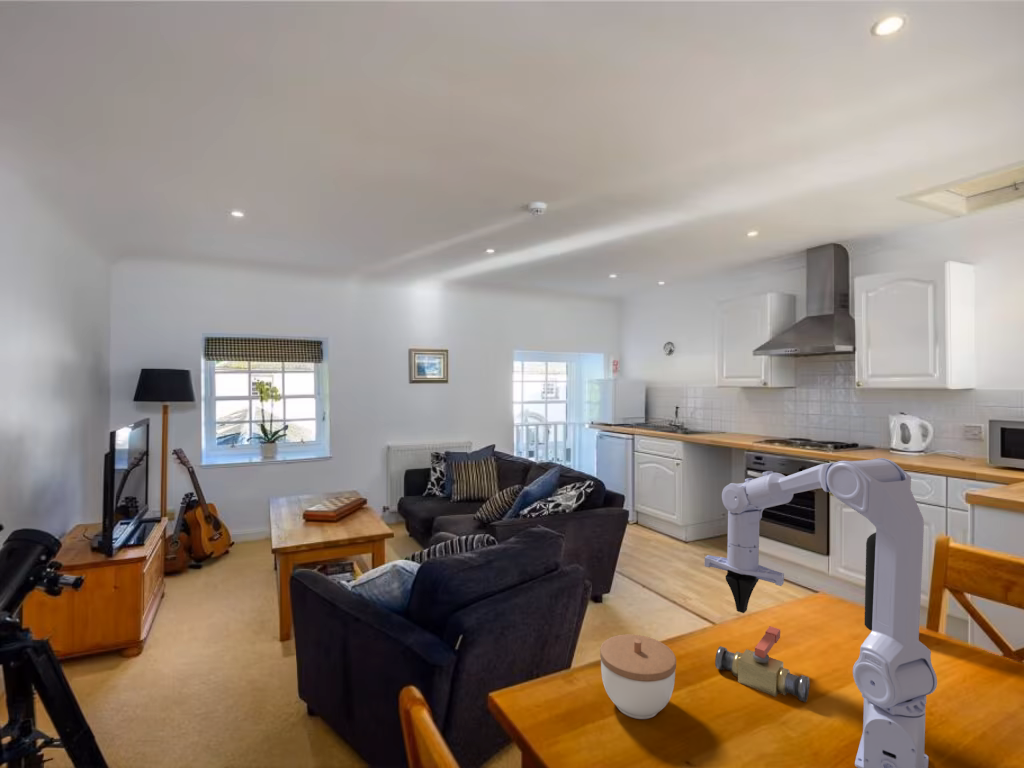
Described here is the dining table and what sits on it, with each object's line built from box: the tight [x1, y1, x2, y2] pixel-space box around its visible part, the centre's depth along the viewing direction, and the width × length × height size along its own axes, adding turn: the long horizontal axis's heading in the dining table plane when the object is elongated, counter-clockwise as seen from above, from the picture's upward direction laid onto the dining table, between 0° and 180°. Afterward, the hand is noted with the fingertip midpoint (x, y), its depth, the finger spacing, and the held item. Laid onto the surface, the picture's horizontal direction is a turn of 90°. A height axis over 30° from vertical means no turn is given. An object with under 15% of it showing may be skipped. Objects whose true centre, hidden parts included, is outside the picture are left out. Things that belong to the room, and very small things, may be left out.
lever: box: [753, 626, 781, 663], centre depth 96 cm, size 11×3×2 cm, turn 139°
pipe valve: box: [714, 645, 810, 703], centre depth 93 cm, size 15×5×4 cm, turn 49°
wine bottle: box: [864, 531, 876, 631], centre depth 113 cm, size 8×8×30 cm
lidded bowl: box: [599, 633, 677, 720], centre depth 86 cm, size 13×13×11 cm
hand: (741, 610), depth 101 cm, fingers closed
